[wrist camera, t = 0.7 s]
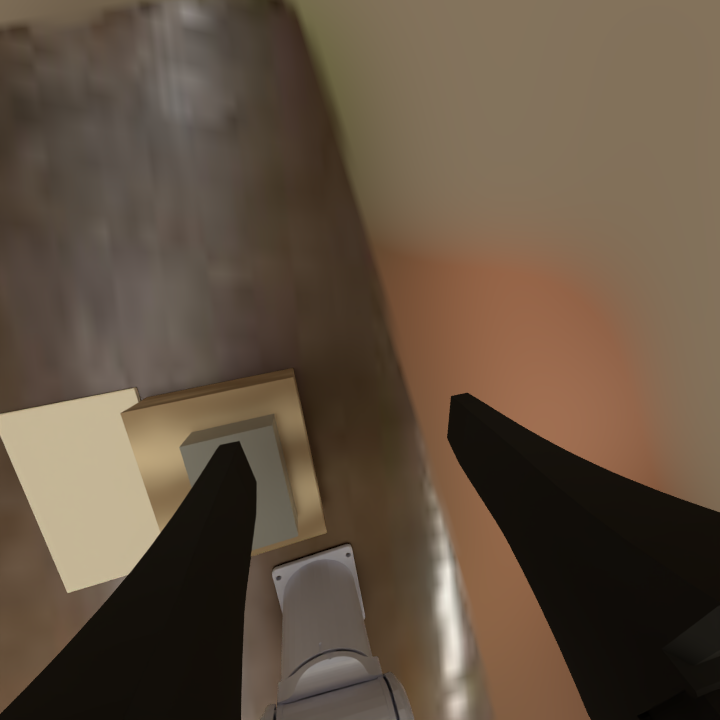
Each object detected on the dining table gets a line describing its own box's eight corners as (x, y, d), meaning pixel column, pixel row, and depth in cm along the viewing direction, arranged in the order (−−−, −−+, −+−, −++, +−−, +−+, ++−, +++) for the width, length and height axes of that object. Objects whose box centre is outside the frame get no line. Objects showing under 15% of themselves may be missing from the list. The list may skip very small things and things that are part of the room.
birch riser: (322, 504, 30) (326, 532, 26) (192, 542, 27) (176, 579, 23) (293, 367, 27) (293, 377, 23) (146, 397, 25) (120, 413, 21)
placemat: (189, 553, 27) (188, 556, 27) (71, 588, 26) (67, 592, 25) (136, 387, 24) (133, 388, 24) (-3, 414, 23) (-8, 416, 22)
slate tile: (297, 514, 25) (298, 536, 22) (222, 536, 24) (214, 562, 21) (274, 413, 23) (272, 425, 21) (191, 432, 22) (179, 447, 20)
